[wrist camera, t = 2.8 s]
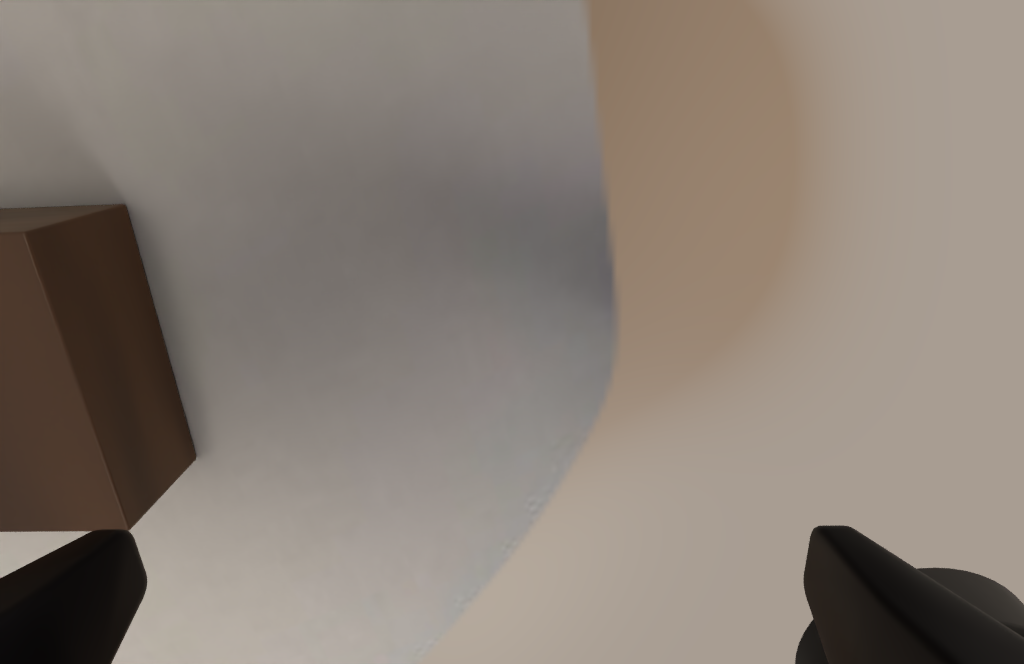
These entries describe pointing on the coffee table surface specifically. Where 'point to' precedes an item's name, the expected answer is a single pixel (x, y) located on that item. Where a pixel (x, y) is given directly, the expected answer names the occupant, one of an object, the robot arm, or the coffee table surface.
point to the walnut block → (82, 375)
